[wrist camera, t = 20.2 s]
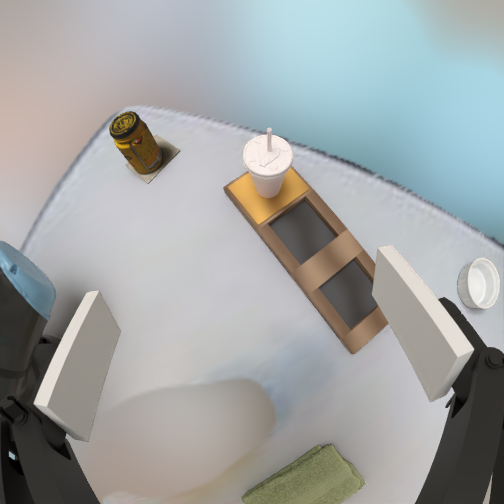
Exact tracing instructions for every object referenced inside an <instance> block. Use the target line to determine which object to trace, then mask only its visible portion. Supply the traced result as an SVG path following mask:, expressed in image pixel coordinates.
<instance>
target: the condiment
mask: <svg viewBox="0 0 504 504" xmlns="http://www.w3.org/2000/svg"><path fill="white" fill-rule="evenodd" d="M109 130H110V135H111V136H112V137H113V139H114V142H115V145H116V146H117V148H118V149H119V150H120V151H121V153H122V154H123V155H124V157H125V158H126V159H127V161H128V162H129V163H128V164H126V166H127V167H128V168H130V169H131V170H132V171H133V172H134V173H136V174H137V175H138V176H139V177H140V178H142V179H143V180H144V181H145V182H147V183H149V182H150V181H151V180H152V179H153V178H154V177H155V176H156V175H157V174H158V173H159V172H160V171H161V170H162V169H163V167H164V166H165V165H166V164H167V163H168V162H169V161H170V160H171V159H172V158H173V157H174V156H175V155H176V154H177V153H178V152H179V151H180V150H179V149H178V148H176V147H174V146H173V145H171V144H170V143H168V142H167V141H165V140H164V139H162V138H161V137H159V136H158V135H155V136H154V137H153V136H152V134H151V132H150V130H149V129H148V127H147V125H146V123H145V122H143V121H142V120H141V119H140V118H139V116H138V115H137V114H136V113H135V112H131V111H130V112H125V113H122V114H120V115H119V116H117V117H116V118H115V119H114V120H113V121H112V123H111V125H110V128H109ZM164 159H165V160H164Z"/></svg>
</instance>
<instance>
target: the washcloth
mask: <svg viewBox="0 0 504 504" xmlns="http://www.w3.org/2000/svg"><path fill="white" fill-rule="evenodd" d="M364 484H365V482H364V480H363V479H362V478H361V477H360V476H359V474H358V472H357V471H356V470H355V468H354V467H353V465H351V464H350V463H349V462H347V461H345V460H344V459H343V458H342V457H341V456H340V455H339V453H338V452H337V451H336V449H335V448H334V446H333V445H329V446H328V445H327V446H325V447H324V448H322V447H321V446H320V445H318V446H316V447H314V448H313V449H312V450H310V451H309V452H307V453H306V454H305V455H304V456H302V457H300V458H298V459H297V460H296V461H295V462H293V463H292V464H291V465H288V466H287V467H286V468H284V469H283V470H281V471H279V472H278V473H277V474H275V475H273V476H271V478H268V479H266V480H265V481H264V482H263V483H260V484H259V485H257V486H255V487H254V488H253V489H251V490H249V491H247V492H246V494H244V495H243V496H242V501H243V502H244V503H246V504H339V503H341V502H342V501H344V500H346V499H347V498H349V497H351V496H352V495H353V494H354V493H356V492H357V491H358V490H359V489H361V487H363V485H364Z"/></svg>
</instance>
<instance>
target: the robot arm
mask: <svg viewBox="0 0 504 504" xmlns="http://www.w3.org/2000/svg"><path fill="white" fill-rule="evenodd" d="M372 296H373V297H374V299H375V301H376V302H377V304H378V306H379V307H380V309H381V311H382V312H383V314H384V316H385V318H386V319H387V321H388V323H389V325H390V326H391V328H392V330H393V332H394V333H395V335H396V337H397V339H398V341H399V342H400V344H401V346H402V348H403V350H404V352H405V353H406V355H407V357H408V359H409V361H410V363H411V365H412V367H413V369H414V370H415V372H416V374H417V376H418V378H419V380H420V382H421V384H422V386H423V388H424V390H425V392H426V394H427V397H428V399H429V401H430V402H432V401H434V400H436V399H439V398H441V397H443V396H445V395H446V394H447V393H448V391H449V390H450V388H451V387H452V388H453V390H454V392H455V393H454V394H453V396H452V397H451V399H450V400H449V401H448V403H447V405H446V407H445V408H448V407H449V405H450V404H451V405H450V409H449V413H448V417H447V421H446V424H445V428H444V431H443V434H442V437H441V441H440V444H439V447H438V450H437V452H436V455H435V458H434V461H433V463H432V466H431V469H430V471H429V474H428V476H427V478H426V481H425V483H424V485H423V488H422V490H421V492H420V494H419V496H418V499H417V501H416V503H415V504H483V501H484V498H485V495H486V492H487V489H488V486H489V482H490V479H491V476H492V485H491V494H490V501H489V504H504V354H503V353H502V352H501V351H500V350H499V349H496V348H494V347H487V346H486V345H485V344H484V342H483V341H482V339H481V338H480V337H479V335H478V334H477V332H476V331H475V330H474V328H473V327H472V326H471V324H470V323H469V322H468V321H467V319H466V318H465V317H464V315H463V314H461V311H460V310H459V309H458V308H457V306H456V305H455V304H454V303H453V302H451V301H450V300H448V299H447V298H445V297H443V298H440V299H437V298H436V297H435V295H434V294H433V293H432V292H431V290H430V289H429V288H428V287H427V285H426V284H425V283H424V282H423V281H422V279H421V278H420V277H419V276H418V275H417V273H416V272H415V271H414V270H413V269H412V268H411V266H410V265H409V264H408V263H407V262H406V261H405V259H404V258H403V257H402V256H401V255H400V254H399V253H398V252H397V250H396V249H395V248H394V247H393V246H392V245H389V246H383V247H378V248H377V257H376V266H375V275H374V283H373V290H372ZM55 298H56V291H55V288H54V286H53V284H52V282H51V281H50V280H49V278H48V277H47V276H46V275H45V274H44V273H43V272H42V271H41V270H40V269H39V268H38V267H37V266H36V265H35V264H34V263H33V262H31V261H30V260H29V259H28V258H27V257H26V256H24V255H23V254H22V253H20V252H19V251H18V250H16V249H15V248H13V247H12V246H10V245H9V244H7V243H6V242H4V241H0V504H100V502H99V501H98V499H97V497H96V495H95V494H94V492H93V490H92V488H91V487H90V485H89V483H88V481H87V479H86V477H85V475H84V473H83V471H82V469H81V468H80V465H79V463H78V461H77V459H76V457H75V454H74V452H73V450H72V448H71V445H70V443H69V442H68V440H67V439H66V438H65V436H66V433H67V434H69V435H70V436H71V437H72V438H74V439H76V440H81V441H86V442H89V437H90V433H91V429H92V425H93V421H94V417H95V413H96V410H97V406H98V402H99V399H100V395H101V392H102V388H103V385H104V382H105V378H106V375H107V372H108V369H109V365H110V362H111V359H112V356H113V353H114V350H115V347H116V344H117V341H118V338H119V336H120V333H121V330H120V328H119V326H118V325H117V323H116V321H115V319H114V318H113V316H112V314H111V312H110V310H109V308H108V306H107V304H106V303H105V301H104V299H103V297H102V295H101V293H100V291H99V290H98V291H91V292H87V293H86V295H85V297H84V298H83V300H82V302H81V304H80V306H79V307H78V309H77V311H76V313H75V315H74V317H73V318H72V320H71V322H70V324H69V326H68V328H67V330H66V332H65V334H64V336H63V338H62V340H61V341H59V340H58V339H56V338H55V337H52V336H48V335H42V333H43V330H44V328H45V325H46V323H47V321H48V319H50V312H51V309H52V307H53V304H54V302H55ZM9 451H10V452H11V453H12V454H14V455H15V460H13V459H12V458H10V457H9ZM492 472H493V474H492Z"/></svg>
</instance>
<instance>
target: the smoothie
mask: <svg viewBox="0 0 504 504" xmlns="http://www.w3.org/2000/svg"><path fill="white" fill-rule="evenodd" d="M292 162H293V152H292V149H291V147H290V145H289V144H288V143H287V142H286V141H285V140H284V139H282V138H280V137H278V136H275V135H272V129H271V128H268V129H267V135H261V136H257V137H255V138H253V139H252V140H250V141H249V142H248V143H247V144H246V146H245V148H244V150H243V163H244V166H245V168H246V169H247V171H248V172H249V173H250V175H251V178H252V180H253V183H254V185H255V188H256V190H257V193H258V194H259V195H260V196H261V197H264V198H273V197H275V196H276V195H277V194H278V193H279V191H280V188H281V185H282V183H283V180H284V177H285V175H286V172H287V171H289V169H290V167H291V166H292Z"/></svg>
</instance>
